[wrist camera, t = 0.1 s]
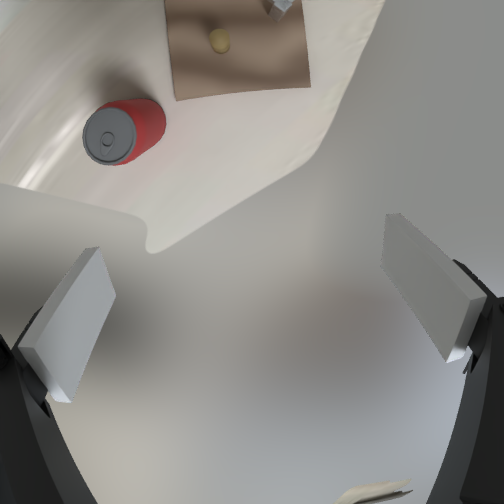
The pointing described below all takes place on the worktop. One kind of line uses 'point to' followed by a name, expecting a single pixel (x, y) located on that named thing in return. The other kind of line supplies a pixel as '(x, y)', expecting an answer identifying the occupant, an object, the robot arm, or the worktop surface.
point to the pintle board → (235, 47)
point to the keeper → (279, 8)
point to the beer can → (123, 130)
